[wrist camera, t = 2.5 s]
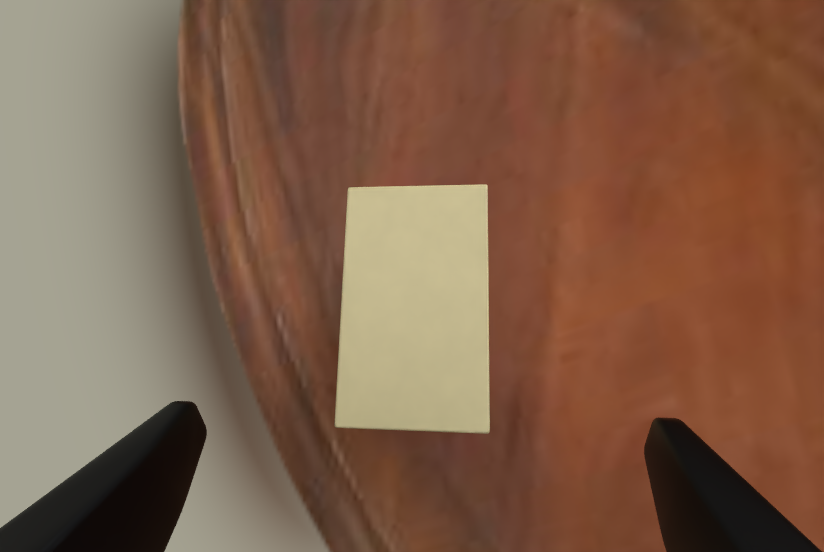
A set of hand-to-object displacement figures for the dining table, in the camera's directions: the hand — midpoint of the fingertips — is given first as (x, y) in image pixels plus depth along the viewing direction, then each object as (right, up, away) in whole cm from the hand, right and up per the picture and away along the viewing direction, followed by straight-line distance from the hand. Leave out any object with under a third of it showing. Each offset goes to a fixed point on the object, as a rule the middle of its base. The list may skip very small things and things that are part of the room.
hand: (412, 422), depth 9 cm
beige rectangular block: (+1, 0, +10) cm, 10 cm away
